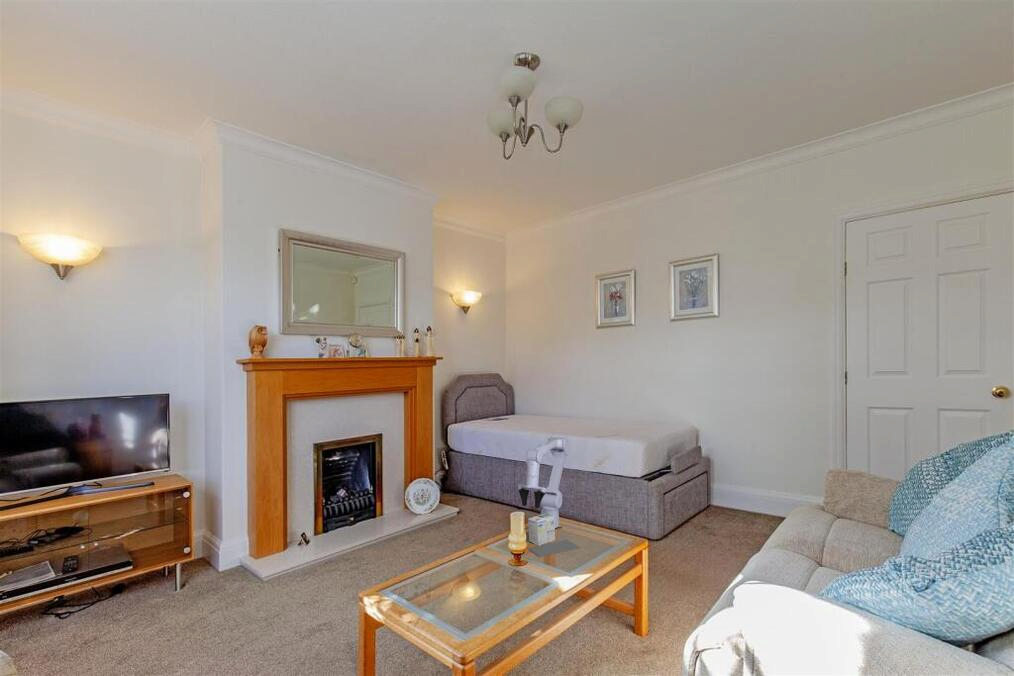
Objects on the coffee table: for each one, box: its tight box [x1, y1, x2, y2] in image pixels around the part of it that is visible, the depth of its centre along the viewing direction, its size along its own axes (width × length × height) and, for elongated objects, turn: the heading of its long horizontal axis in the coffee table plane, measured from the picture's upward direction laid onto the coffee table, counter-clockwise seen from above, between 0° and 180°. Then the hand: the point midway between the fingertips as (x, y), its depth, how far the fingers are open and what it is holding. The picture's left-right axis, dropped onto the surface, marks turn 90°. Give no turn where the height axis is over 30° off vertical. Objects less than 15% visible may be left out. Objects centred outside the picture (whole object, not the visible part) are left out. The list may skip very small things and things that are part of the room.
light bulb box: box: [527, 514, 556, 546], centre depth 216 cm, size 11×7×11 cm, turn 130°
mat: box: [527, 539, 581, 558], centre depth 206 cm, size 11×20×1 cm, turn 115°
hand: (530, 507), depth 220 cm, fingers open, 7 cm apart
